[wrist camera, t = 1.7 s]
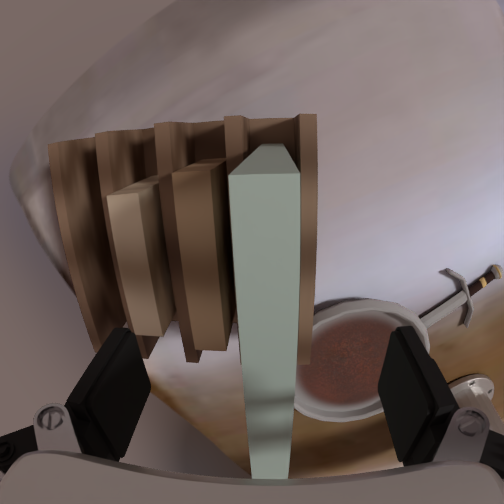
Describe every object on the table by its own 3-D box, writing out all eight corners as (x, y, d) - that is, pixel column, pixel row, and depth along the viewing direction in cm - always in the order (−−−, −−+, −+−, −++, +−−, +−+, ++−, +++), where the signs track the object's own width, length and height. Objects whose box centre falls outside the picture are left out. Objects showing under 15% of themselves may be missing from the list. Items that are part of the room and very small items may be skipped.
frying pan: (517, 326, 27) (322, 442, 34) (505, 314, 30) (320, 425, 37) (490, 203, 23) (240, 360, 30) (473, 197, 26) (242, 343, 32)
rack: (304, 316, 30) (309, 364, 24) (124, 312, 32) (95, 352, 25) (305, 118, 24) (316, 113, 17) (94, 138, 25) (47, 144, 19)
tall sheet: (284, 304, 29) (286, 489, 12) (267, 304, 29) (253, 489, 12) (282, 143, 24) (299, 173, 7) (262, 143, 24) (228, 175, 7)
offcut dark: (238, 295, 29) (226, 350, 21) (214, 294, 29) (195, 349, 21) (230, 157, 24) (210, 170, 17) (202, 159, 25) (171, 172, 17)
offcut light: (189, 284, 29) (163, 336, 21) (167, 284, 29) (135, 334, 21) (177, 173, 25) (138, 193, 18) (152, 175, 25) (106, 195, 18)
